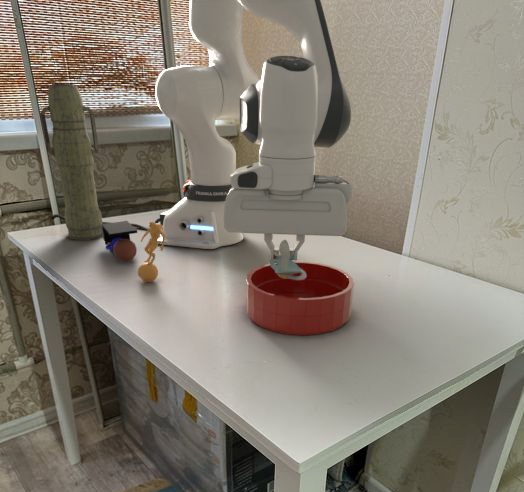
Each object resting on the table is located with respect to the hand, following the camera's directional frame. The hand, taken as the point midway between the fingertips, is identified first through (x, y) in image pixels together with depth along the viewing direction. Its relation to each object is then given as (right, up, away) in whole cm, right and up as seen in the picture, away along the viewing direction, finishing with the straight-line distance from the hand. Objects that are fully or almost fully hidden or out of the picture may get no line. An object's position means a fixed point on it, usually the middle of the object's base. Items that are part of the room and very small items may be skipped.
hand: (283, 259), depth 87 cm
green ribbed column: (-50, +14, +46) cm, 69 cm away
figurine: (-26, -1, +18) cm, 32 cm away
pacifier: (+1, -3, +1) cm, 3 cm away
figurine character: (-37, +7, +33) cm, 50 cm away
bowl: (+3, -9, +5) cm, 10 cm away
